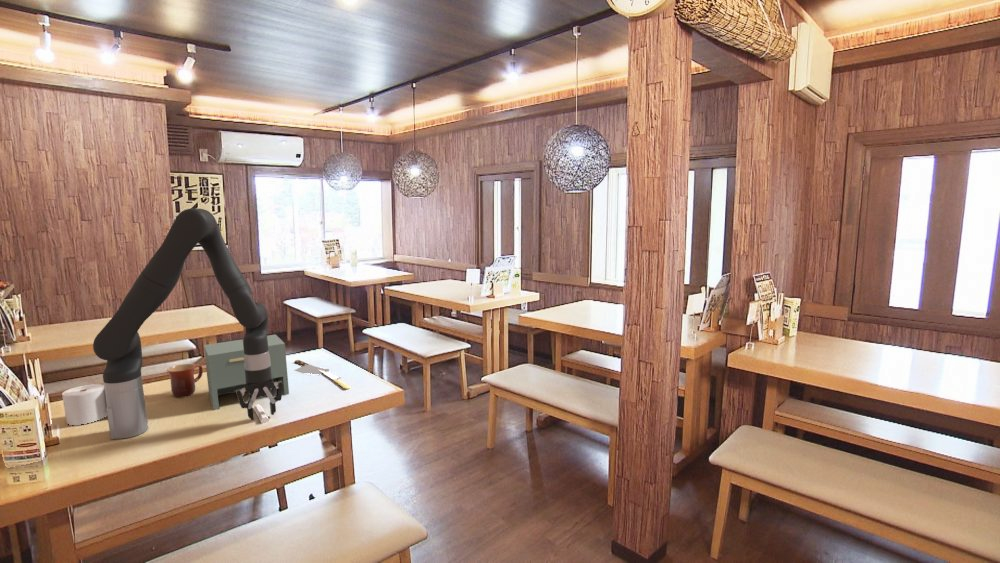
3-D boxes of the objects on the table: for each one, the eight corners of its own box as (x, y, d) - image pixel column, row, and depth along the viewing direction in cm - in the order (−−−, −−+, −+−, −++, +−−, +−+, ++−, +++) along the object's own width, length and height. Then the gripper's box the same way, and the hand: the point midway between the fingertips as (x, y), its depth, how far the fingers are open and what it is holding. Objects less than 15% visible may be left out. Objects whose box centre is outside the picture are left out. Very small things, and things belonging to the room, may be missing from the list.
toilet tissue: (70, 416, 168) (65, 387, 167) (115, 409, 174) (111, 381, 173) (63, 428, 159) (58, 398, 158) (110, 420, 165) (106, 390, 164)
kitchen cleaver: (280, 365, 218) (302, 358, 225) (280, 367, 218) (302, 360, 225) (309, 377, 202) (331, 370, 209) (309, 380, 202) (332, 372, 209)
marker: (257, 409, 174) (266, 425, 161) (250, 407, 173) (259, 423, 160) (260, 402, 175) (270, 417, 162) (254, 400, 174) (263, 415, 161)
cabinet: (214, 410, 172) (208, 355, 169) (209, 395, 185) (203, 345, 182) (289, 394, 185) (285, 343, 182) (279, 381, 198) (275, 334, 195)
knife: (326, 364, 217) (314, 365, 214) (355, 385, 190) (343, 387, 187) (326, 367, 217) (314, 368, 214) (355, 389, 190) (343, 390, 187)
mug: (179, 400, 181) (176, 372, 179) (164, 396, 185) (161, 369, 183) (211, 389, 191) (208, 363, 190) (196, 386, 195) (193, 360, 194)
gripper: (234, 373, 154) (239, 426, 157) (284, 364, 162) (288, 414, 165) (230, 367, 160) (235, 418, 163) (279, 358, 168) (283, 407, 171)
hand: (262, 416), depth 164 cm, fingers open, 5 cm apart
